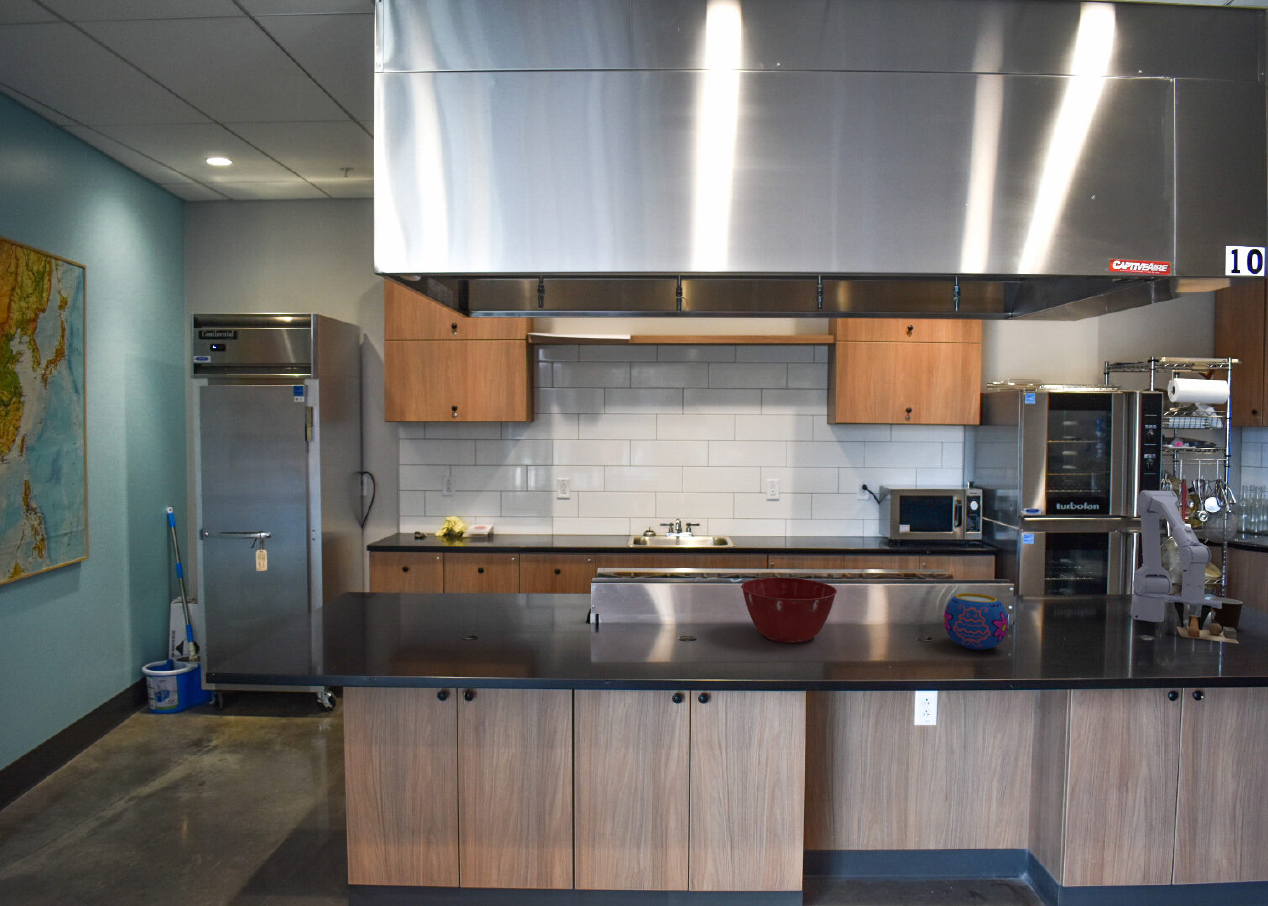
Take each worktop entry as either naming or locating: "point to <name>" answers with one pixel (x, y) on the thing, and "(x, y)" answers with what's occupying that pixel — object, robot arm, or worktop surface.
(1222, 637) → the beige square panel
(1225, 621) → the coffee mug
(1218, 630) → the brown ball
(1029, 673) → the worktop surface
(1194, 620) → the lever
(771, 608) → the mixing bowl
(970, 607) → the ceramic pot
